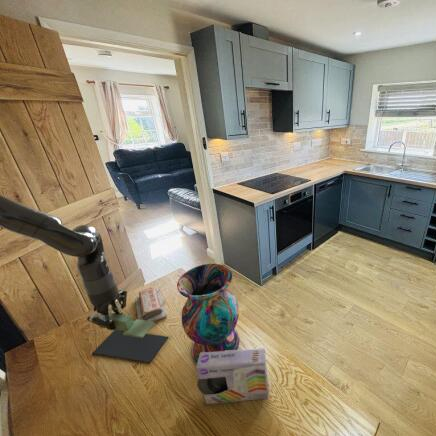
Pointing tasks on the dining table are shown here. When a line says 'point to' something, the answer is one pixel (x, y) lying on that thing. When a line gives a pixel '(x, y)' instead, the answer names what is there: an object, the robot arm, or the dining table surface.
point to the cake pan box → (232, 375)
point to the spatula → (130, 325)
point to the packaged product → (150, 305)
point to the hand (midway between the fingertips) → (116, 324)
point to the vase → (209, 309)
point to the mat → (131, 346)
